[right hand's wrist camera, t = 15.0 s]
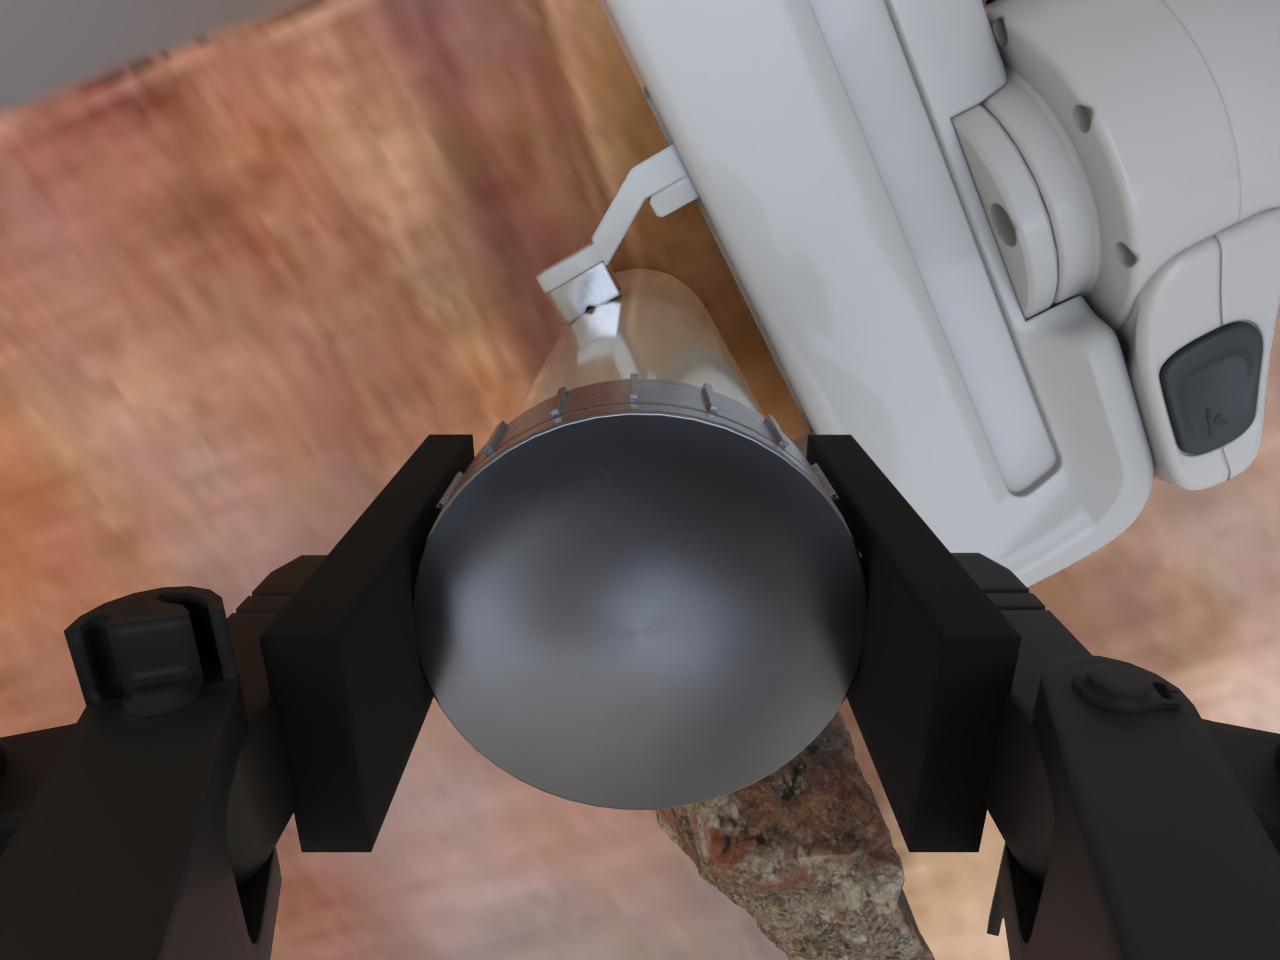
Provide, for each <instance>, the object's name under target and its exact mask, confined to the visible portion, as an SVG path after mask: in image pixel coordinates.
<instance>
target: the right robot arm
mask: <svg viewBox="0 0 1280 960" xmlns="http://www.w3.org/2000/svg"><path fill="white" fill-rule="evenodd" d="M806 459H807V461H808V462H809V464H810V465H811V466H812V465H813V464H815V463H817V465H818V466H819V468H820V469H821V471H822V472H823V474H824V475H825V477H826V479H827V480H828V482H829V483H830V485H831V486H832V488H833V490H834V491H835V493H836V494H837V496H838V497H839V499H837V500H835V501H834V503H835V505H836V506H837V508H838V510H839V511H840V513H841V515H842V516H843V518H844V520H845V522H846V524H847V526H848V528H849V530H850V532H851V534H852V536H853V538H854V540H855V542H856V545H857V548H858V550H859V551H860V553H861V555H862V563H863V566H864V570H865V577H866V583H867V589H868V609H867V619H866V628H865V636H864V644H863V652H862V659H861V662H860V666H859V669H858V672H857V675H856V677H855V679H854V681H853V683H852V686H851V688H850V690H849V692H848V694H847V698H848V701H849V703H850V706H851V708H852V711H853V713H854V716H855V718H856V721H857V723H858V726H859V728H860V731H861V733H862V736H863V738H864V741H865V743H866V746H867V748H868V751H869V753H870V756H871V758H872V760H873V763H874V765H875V768H876V770H877V773H878V775H879V778H880V780H881V783H882V785H883V788H884V790H885V793H886V795H887V798H888V800H889V803H890V805H891V808H892V810H893V813H894V815H895V818H896V820H897V823H898V825H899V827H900V830H901V832H902V835H903V837H904V840H905V842H906V845H907V847H908V850H909V852H979V847H980V843H981V838H982V833H983V828H984V823H985V818H986V813H987V809H988V811H989V813H990V815H991V817H992V818H993V820H994V822H995V824H996V825H997V827H998V829H999V831H1000V833H1001V834H1002V836H1003V838H1004V840H1005V846H1004V851H1003V855H1002V860H1001V865H1000V869H999V874H998V878H997V883H996V888H995V892H994V897H993V902H992V906H991V911H990V915H989V922H988V930H987V933H988V934H992V935H996V936H998V935H999V931H1000V926H1001V922H1002V919H1003V918H1004V920H1005V927H1006V934H1007V941H1008V948H1009V954H1010V960H1280V734H1277V733H1272V732H1266V731H1261V730H1256V729H1251V728H1245V727H1240V726H1235V725H1229V724H1224V723H1219V722H1213V721H1209V720H1205V719H1201V717H1200V715H1199V713H1198V712H1197V710H1196V708H1195V706H1194V705H1193V704H1192V703H1191V701H1190V700H1189V699H1188V698H1187V697H1186V696H1185V695H1184V694H1183V693H1182V691H1181V690H1180V689H1179V688H1177V687H1176V686H1174V685H1172V684H1171V683H1169V682H1168V681H1166V680H1165V679H1163V678H1161V677H1160V676H1158V675H1157V674H1155V673H1152V672H1150V671H1147V670H1145V669H1143V668H1140V667H1138V666H1135V665H1133V664H1130V663H1127V662H1123V661H1119V660H1115V659H1111V658H1106V657H1102V656H1092V655H1091V654H1090V653H1089V652H1088V650H1087V649H1086V648H1085V647H1084V646H1083V645H1082V644H1081V643H1080V642H1079V641H1078V640H1077V639H1076V638H1075V637H1074V636H1073V635H1072V634H1071V633H1070V632H1069V631H1068V630H1067V629H1066V628H1065V627H1064V625H1063V624H1062V623H1061V622H1060V621H1059V620H1058V619H1057V618H1056V617H1055V616H1054V615H1053V614H1052V613H1051V612H1050V611H1049V610H1045V606H1044V605H1043V604H1042V603H1041V602H1040V600H1039V599H1038V598H1037V597H1036V596H1035V595H1034V594H1033V593H1029V589H1028V588H1027V587H1026V586H1025V585H1024V584H1023V583H1022V582H1021V581H1020V580H1019V579H1018V578H1017V577H1016V575H1015V574H1014V573H1013V572H1012V571H1011V570H1010V569H1008V568H1006V567H1004V566H1002V565H1000V564H999V563H997V562H995V561H993V560H991V559H990V558H988V557H986V556H984V555H982V554H980V553H950V551H949V550H948V549H947V548H946V547H945V546H944V544H943V543H942V542H941V541H940V540H939V538H938V537H937V536H936V535H935V534H934V532H933V531H932V530H931V529H930V528H929V527H928V525H927V524H926V523H925V522H924V521H923V519H922V518H921V517H920V516H919V515H918V513H917V512H916V511H915V510H914V509H913V508H912V506H911V505H910V504H909V503H908V502H907V500H906V499H905V498H904V497H903V496H902V495H901V493H900V492H899V491H898V490H897V489H896V487H895V486H894V485H893V484H892V483H891V481H890V480H889V479H888V478H887V477H886V476H885V474H884V473H883V472H882V471H881V470H880V468H879V467H878V466H877V465H876V464H875V462H874V461H873V460H872V459H871V458H870V457H869V455H868V454H867V453H866V452H865V451H864V449H863V448H862V447H861V446H860V445H859V443H858V442H857V441H856V440H855V439H854V438H853V436H852V435H808V441H807V453H806ZM473 460H474V448H473V435H429V436H428V437H427V438H426V439H425V440H424V442H423V443H422V444H421V445H420V446H419V448H418V449H417V450H416V451H415V452H414V454H413V455H412V456H411V457H410V458H409V459H408V461H407V462H406V463H405V464H404V465H403V467H402V468H401V469H400V470H399V471H398V473H397V474H396V475H395V476H394V477H393V478H392V480H391V481H390V482H389V483H388V484H387V486H386V487H385V488H384V489H383V490H382V491H381V493H380V494H379V495H378V496H377V497H376V499H375V500H374V501H373V502H372V503H371V505H370V506H369V507H368V508H367V509H366V510H365V512H364V513H363V514H362V515H361V516H360V518H359V519H358V520H357V521H356V522H355V524H354V525H353V526H352V527H351V528H350V529H349V531H348V532H347V533H346V534H345V535H344V537H343V538H342V539H341V540H340V541H339V543H338V544H337V545H336V546H335V547H334V548H333V550H332V551H331V552H330V553H329V554H328V555H302V556H300V557H298V558H296V559H294V560H293V561H291V562H289V563H287V564H285V565H284V566H282V567H280V568H278V569H276V570H274V571H273V572H271V573H270V574H269V575H268V576H267V577H266V578H265V579H264V580H263V581H262V582H261V583H260V585H259V586H258V587H257V588H256V589H255V590H254V591H253V592H252V596H248V597H247V598H246V599H245V600H244V601H243V602H242V603H241V605H240V606H239V607H238V608H237V609H236V613H232V614H231V615H230V616H229V617H228V618H227V619H226V614H225V610H224V605H223V600H222V597H220V596H219V595H217V594H216V593H214V592H213V591H211V590H209V589H203V588H197V587H191V586H184V587H163V588H158V589H153V590H148V591H143V592H138V593H133V594H130V595H127V596H125V597H122V598H119V599H116V600H113V601H110V602H107V603H104V604H102V605H101V606H99V607H97V608H95V609H93V610H91V611H89V612H87V613H86V614H84V615H82V616H80V617H79V618H78V619H77V620H75V621H74V622H73V623H72V624H71V625H70V626H69V627H68V628H67V629H66V630H64V633H65V637H66V640H67V643H68V646H69V650H70V653H71V656H72V660H73V663H74V666H75V670H76V673H77V676H78V679H79V683H80V686H81V689H82V693H83V696H84V699H85V703H86V708H85V710H84V711H83V713H82V715H81V717H80V718H79V720H78V722H77V723H75V724H71V725H66V726H60V727H55V728H50V729H44V730H39V731H34V732H28V733H23V734H18V735H13V736H7V737H2V738H0V960H270V956H271V950H272V943H273V936H274V929H275V922H276V915H277V908H278V901H279V894H280V888H281V881H282V880H281V872H280V865H279V860H278V855H277V851H276V846H275V845H276V843H277V841H278V840H279V838H280V836H281V834H282V832H283V831H284V829H285V827H286V825H287V823H288V822H289V820H290V818H291V816H292V814H293V812H294V815H295V820H296V825H297V830H298V835H299V840H300V845H301V850H302V852H371V851H372V849H373V846H374V844H375V841H376V839H377V836H378V834H379V831H380V829H381V826H382V824H383V821H384V819H385V816H386V814H387V811H388V809H389V806H390V804H391V801H392V799H393V796H394V794H395V791H396V789H397V786H398V784H399V781H400V779H401V777H402V774H403V772H404V769H405V767H406V764H407V762H408V759H409V757H410V754H411V752H412V749H413V747H414V744H415V742H416V739H417V737H418V734H419V732H420V729H421V727H422V724H423V722H424V719H425V717H426V714H427V712H428V709H429V707H430V705H431V702H432V700H433V697H434V695H433V694H432V692H431V690H430V688H429V686H428V683H427V681H426V678H425V676H424V673H423V671H422V668H421V666H420V662H419V657H418V649H417V642H416V633H415V625H414V616H413V606H412V590H413V583H414V578H415V573H416V569H417V564H418V560H419V557H420V555H421V552H422V549H423V547H424V544H425V541H426V539H427V536H428V534H429V532H430V530H431V528H432V527H433V525H434V523H435V521H436V519H437V518H438V516H439V514H440V512H441V510H439V509H437V508H436V507H437V505H438V503H439V501H440V500H441V498H442V497H443V495H444V493H445V492H446V490H447V489H448V487H449V485H450V484H451V482H452V481H453V479H454V478H455V476H456V474H457V473H458V471H459V472H461V473H463V474H464V473H465V471H466V469H467V468H468V466H469V465H470V464H471V462H472V461H473Z"/></svg>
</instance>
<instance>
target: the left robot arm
mask: <svg viewBox="0 0 1280 960" xmlns="http://www.w3.org/2000/svg"><path fill="white" fill-rule="evenodd" d="M982 1H983V0H598V2H599V4H600V6H601V8H602V11H603V13H604V15H605V17H606V19H607V21H608V23H609V25H610V27H611V29H612V31H613V33H614V35H615V37H616V39H617V41H618V43H619V45H620V47H621V50H622V52H623V54H624V56H625V58H626V60H627V62H628V64H629V66H630V68H631V70H632V72H633V74H634V76H635V78H636V80H637V82H638V84H639V86H640V88H641V90H642V92H643V94H644V96H645V98H646V100H647V103H648V105H649V107H650V109H651V111H652V113H653V115H654V117H655V119H656V121H657V123H658V125H659V127H660V129H661V131H662V133H663V135H664V137H665V139H666V141H667V143H668V145H669V146H668V147H667V148H665V149H663V150H662V151H660V152H658V153H657V154H655V155H653V156H651V157H650V158H648V159H646V160H645V161H643V162H641V163H640V164H638V165H636V166H634V167H633V168H631V170H630V171H629V173H628V175H627V177H626V178H625V180H624V182H623V184H622V185H621V187H620V189H619V191H618V192H617V194H616V196H615V198H614V200H613V201H612V203H611V205H610V207H609V208H608V210H607V212H606V214H605V215H604V217H603V219H602V221H601V222H600V224H599V226H598V228H597V229H596V231H595V233H594V235H593V236H592V238H591V239H592V242H591V243H589V244H587V245H586V246H584V247H582V248H580V249H579V250H577V251H575V252H573V253H572V254H570V255H568V256H567V257H565V258H563V259H561V260H560V261H558V262H556V263H554V264H553V265H551V266H550V267H548V268H547V269H545V270H543V271H542V272H540V273H539V274H538V275H537V276H536V279H537V280H538V282H539V284H540V286H541V288H542V290H543V292H544V293H545V294H546V296H547V298H548V299H549V301H550V303H551V304H552V306H553V308H554V309H555V311H556V313H557V314H558V316H559V318H560V319H561V321H562V323H563V324H564V325H565V324H568V323H570V322H572V321H574V320H576V319H577V318H578V317H580V316H581V315H583V314H584V313H585V311H586V309H587V307H588V306H595V307H597V306H598V305H601V304H604V303H606V302H608V301H610V300H612V299H613V298H615V297H617V296H619V295H620V293H621V291H620V290H621V285H620V283H619V281H618V279H617V277H616V275H615V273H614V271H613V269H612V267H611V265H610V263H609V261H610V260H611V258H612V256H613V255H614V253H615V251H616V249H617V248H618V246H619V244H620V242H621V241H622V239H623V237H624V236H625V234H626V232H627V230H628V229H629V227H630V225H631V224H632V222H633V220H634V218H635V217H636V215H637V213H638V211H639V210H640V208H641V206H642V205H643V203H644V201H645V199H647V198H649V197H650V198H649V203H650V205H651V207H652V209H653V211H654V213H655V214H656V216H659V217H664V216H666V215H668V214H669V213H671V212H673V211H675V210H677V209H678V208H680V207H682V206H684V205H686V204H688V203H689V202H691V201H693V200H696V202H697V204H698V206H699V209H700V211H701V213H702V215H703V217H704V219H705V221H706V223H707V225H708V227H709V229H710V231H711V233H712V235H713V237H714V239H715V241H716V243H717V245H718V247H719V249H720V251H721V253H722V255H723V257H724V259H725V262H726V264H727V266H728V268H729V270H730V272H731V274H732V276H733V278H734V280H735V282H736V284H737V286H738V288H739V290H740V292H741V294H742V296H743V298H744V300H745V302H746V304H747V306H748V308H749V310H750V312H751V315H752V317H753V319H754V321H755V323H756V325H757V327H758V329H759V331H760V333H761V335H762V337H763V339H764V341H765V343H766V345H767V347H768V349H769V351H770V353H771V355H772V357H773V359H774V361H775V363H776V365H777V368H778V370H779V372H780V374H781V376H782V378H783V380H784V382H785V384H786V386H787V388H788V390H789V392H790V394H791V396H792V398H793V400H794V402H795V404H796V406H797V408H798V410H799V412H800V414H801V416H802V418H803V421H804V423H805V425H806V427H807V429H808V431H809V433H807V434H805V435H803V436H801V437H799V438H797V439H795V440H794V441H792V443H793V444H794V445H795V446H796V447H797V448H798V449H799V450H800V451H801V452H802V454H803V455H804V457H805V458H806V453H807V441H808V435H852V436H853V438H854V439H855V440H856V441H857V442H858V443H859V445H860V446H861V447H862V448H863V449H864V451H865V452H866V453H867V454H868V455H869V457H870V458H871V459H872V460H873V461H874V462H875V464H876V465H877V466H878V467H879V468H880V470H881V471H882V472H883V473H884V474H885V476H886V477H887V478H888V479H889V480H890V481H891V483H892V484H893V485H894V486H895V487H896V489H897V490H898V491H899V492H900V493H901V495H902V496H903V497H904V498H905V499H906V500H907V502H908V503H909V504H910V505H911V506H912V508H913V509H914V510H915V511H916V512H917V513H918V515H919V516H920V517H921V518H922V519H923V521H924V522H925V523H926V524H927V525H928V527H929V528H930V529H931V530H932V531H933V532H934V534H935V535H936V536H937V537H938V538H939V540H940V541H941V542H942V543H943V544H944V546H945V547H946V548H947V549H948V550H949V551H950V553H980V554H982V555H984V556H986V557H988V558H990V559H991V560H993V561H995V562H997V563H999V564H1000V565H1002V566H1004V567H1006V568H1008V569H1010V570H1011V571H1012V572H1013V573H1014V574H1015V575H1016V577H1017V578H1018V579H1019V580H1020V581H1021V582H1022V583H1023V584H1024V585H1025V586H1026V587H1029V586H1031V585H1033V584H1035V583H1037V582H1039V581H1041V580H1043V579H1045V578H1047V577H1049V576H1051V575H1053V574H1055V573H1057V572H1059V571H1061V570H1063V569H1064V568H1066V567H1068V566H1070V565H1072V564H1074V563H1075V562H1077V561H1079V560H1081V559H1083V558H1085V557H1086V556H1088V555H1090V554H1092V553H1093V552H1095V551H1097V550H1098V549H1100V548H1102V547H1103V546H1105V545H1106V544H1108V543H1109V542H1111V541H1112V540H1113V539H1115V538H1116V537H1117V536H1119V535H1120V534H1121V533H1122V532H1123V531H1124V530H1126V529H1127V528H1128V527H1129V526H1130V525H1131V524H1132V523H1133V522H1134V520H1135V519H1136V518H1137V517H1138V516H1139V514H1140V513H1141V511H1142V510H1143V508H1144V506H1145V505H1146V503H1147V501H1148V499H1149V496H1150V493H1151V490H1152V485H1153V477H1155V478H1157V479H1160V480H1162V481H1165V482H1167V483H1169V484H1172V485H1174V486H1177V487H1179V488H1182V489H1185V490H1191V491H1195V490H1201V489H1205V488H1208V487H1211V486H1214V485H1217V484H1219V483H1222V482H1224V481H1226V480H1229V479H1231V478H1233V477H1234V476H1236V475H1238V474H1240V473H1241V472H1243V471H1244V470H1245V469H1246V468H1248V467H1249V466H1250V465H1251V463H1252V462H1253V461H1254V459H1255V457H1256V455H1257V453H1258V450H1259V447H1260V443H1261V438H1262V430H1263V421H1264V410H1265V399H1266V389H1267V380H1268V371H1269V364H1270V356H1271V348H1272V342H1273V336H1274V330H1275V324H1276V319H1277V314H1278V309H1279V304H1280V0H987V1H985V2H986V5H983V2H982Z"/></svg>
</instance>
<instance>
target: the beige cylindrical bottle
mask: <svg viewBox="0 0 1280 960" xmlns="http://www.w3.org/2000/svg"><path fill="white" fill-rule="evenodd" d="M615 275H616V277H617V279H618V281H619V283H620V285H621V290H620V291H621V293H620V295H619V296H617V297H615V298H613V299H612V300H610V301H608V302H606V303H604V304H601V305H598V306H597V307H595V306H588V307H587V309H586V311H585V313H584V314H583V315H581V316H580V317H578V318H577V319H576V320H574V321H572V322H570V323H568V324H565V325H564V326H563V328H562V330H561V332H560V334H559V336H558V338H557V339H556V341H555V343H554V345H553V347H552V349H551V350H550V352H549V354H548V356H547V358H546V360H545V362H544V363H543V365H542V367H541V369H540V371H539V373H538V375H537V376H536V378H535V380H534V382H533V384H532V386H531V387H530V389H529V391H528V393H527V395H526V397H525V399H524V400H523V402H522V404H521V406H520V408H519V410H518V412H517V413H516V415H515V417H514V419H515V418H516V417H518V416H519V415H520V414H522V413H523V412H525V411H526V410H528V409H530V408H532V407H534V406H536V405H537V404H539V403H541V402H543V401H545V400H547V399H548V398H551V397H554V396H556V394H557V392H558V389H559V388H562V387H564V386H566V388H567V391H569V390H572V389H574V388H578V387H582V386H587V385H591V384H595V383H599V382H605V381H614V380H623V379H630V375H631V374H639V379H660V380H667V381H674V382H680V383H687V384H691V385H694V386H698V387H701V388H702V387H703V384H704V383H707V384H710V385H711V386H712V389H713V391H715V392H717V393H719V394H722V395H724V396H726V397H729V398H731V399H733V400H735V401H738V402H740V403H742V404H743V405H745V406H747V407H748V408H750V409H752V410H753V411H755V412H756V413H758V414H760V415H761V416H763V417H764V418H766V417H765V415H764V413H763V411H762V410H761V408H760V406H759V404H758V402H757V400H756V399H755V397H754V395H753V393H752V391H751V389H750V387H749V386H748V384H747V382H746V380H745V378H744V376H743V375H742V373H741V371H740V369H739V367H738V365H737V363H736V362H735V360H734V358H733V356H732V354H731V352H730V351H729V349H728V347H727V345H726V343H725V341H724V339H723V338H722V336H721V334H720V332H719V330H718V328H717V327H716V325H715V323H714V321H713V319H712V317H711V315H710V314H709V312H708V310H707V308H706V306H705V305H704V303H703V302H702V300H701V299H700V298H699V296H698V295H697V294H696V293H695V292H694V291H693V290H692V289H691V288H690V287H689V286H688V285H687V284H685V283H684V282H682V281H681V280H679V279H678V278H676V277H674V276H672V275H670V274H667V273H664V272H661V271H657V270H652V269H642V268H638V269H628V270H623V271H619V272H616V273H615ZM514 419H513V420H514Z"/></svg>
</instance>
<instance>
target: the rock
mask: <svg viewBox="0 0 1280 960" xmlns="http://www.w3.org/2000/svg"><path fill="white" fill-rule="evenodd" d="M656 812H657V821H658V824H659V825H660V827H661V828H662V829H663V830H664V831H665V832H666V833H667V834H668V836H669V837H670V838H671V840H672V841H673V842H674V843H677V844H678V845H679V847H680V848H681V849H682V850H683V851H684V852H685V853H686V854H687V855H689V856H690V858H691V859H692V860H693V861H694V863H695V864H696V866H697V868H698V870H699V874H700V876H701V877H702V878H703V879H704V880H706V881H707V882H708V883H710V884H711V885H714V886H715V887H717V888H718V890H719V891H721V892H723V893H724V894H725V895H726V896H727V897H728V898H729V899H731V900H732V901H733V902H734V903H735V904H737V905H739V906H741V907H743V908H745V909H746V911H747V912H748V913H749V914H750V915H751V916H752V917H753V918H755V919H756V920H757V924H758V927H759V929H760V930H761V931H762V932H763V933H764V934H765V935H766V936H767V938H768V939H769V940H771V941H772V942H773V943H774V944H775V945H776V947H778V948H779V949H781V950H782V951H784V952H785V953H786V954H787V957H788V959H790V960H935V959H934V957H933V954H932V952H931V951H930V949H929V947H928V946H927V944H926V942H925V940H924V939H923V937H922V935H921V934H920V932H919V930H918V927H917V924H916V922H915V919H914V917H913V914H912V912H911V909H910V906H909V904H908V901H907V899H906V896H905V894H904V892H903V889H902V887H903V884H904V881H905V879H904V873H903V867H902V863H901V859H900V856H899V855H898V853H897V852H896V851H895V849H894V848H893V845H892V841H891V836H890V831H889V829H888V828H887V826H886V824H885V822H884V820H883V818H882V815H881V813H880V810H879V808H878V805H877V802H876V800H875V797H874V795H873V792H872V790H871V788H870V786H869V785H868V784H867V783H866V781H865V780H864V777H863V775H862V772H861V770H860V767H859V765H858V763H857V761H856V760H855V753H854V746H853V744H852V740H851V736H850V734H849V733H848V731H847V730H846V728H845V724H844V720H843V718H842V715H841V713H840V710H839V709H838V711H837V712H836V714H835V715H834V717H833V718H832V719H831V721H830V722H829V723H828V724H827V725H826V727H825V728H824V729H823V730H822V731H821V733H820V734H819V735H818V736H817V737H816V738H815V739H814V740H813V741H812V742H811V743H810V744H809V745H808V746H807V747H806V748H805V749H804V750H803V751H801V752H800V753H799V754H798V755H797V756H796V757H794V758H793V759H792V760H790V761H789V762H788V763H786V764H785V765H783V766H782V767H781V768H779V769H778V770H777V771H775V772H773V773H771V774H770V775H768V776H766V777H764V778H763V779H761V780H759V781H757V782H756V783H754V784H752V785H749V786H747V787H745V788H742V789H740V790H738V791H735V792H733V793H731V794H728V795H725V796H722V797H719V798H715V799H712V800H709V801H705V802H702V803H697V804H692V805H686V806H681V807H676V808H664V809H656Z"/></svg>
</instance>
